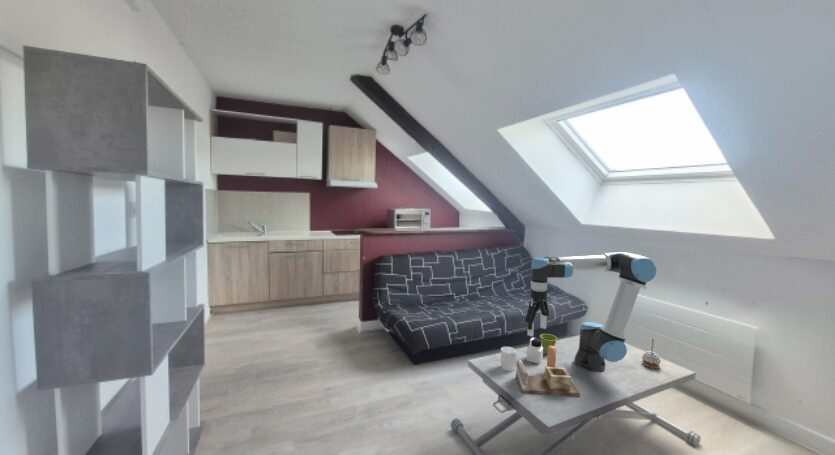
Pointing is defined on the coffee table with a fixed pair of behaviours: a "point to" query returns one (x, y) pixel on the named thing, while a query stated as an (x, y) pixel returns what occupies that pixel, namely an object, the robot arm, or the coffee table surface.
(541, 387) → the board
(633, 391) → the coffee table surface
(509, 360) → the white cup
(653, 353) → the cupcake with stick
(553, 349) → the dowel
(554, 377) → the open wooden box
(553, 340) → the plant pot
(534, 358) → the medicine bottle
